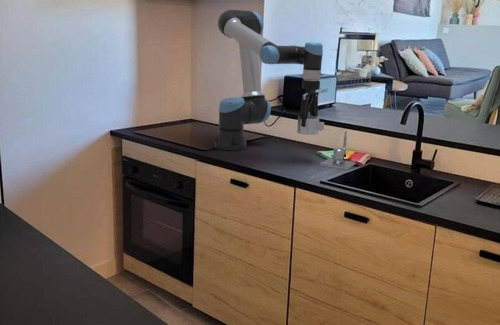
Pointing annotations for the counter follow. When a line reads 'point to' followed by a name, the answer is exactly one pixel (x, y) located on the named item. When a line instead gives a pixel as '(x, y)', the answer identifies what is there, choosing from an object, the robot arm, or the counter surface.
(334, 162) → the square plate with knob
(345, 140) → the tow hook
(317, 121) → the grey piece
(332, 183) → the counter surface
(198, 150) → the counter surface
